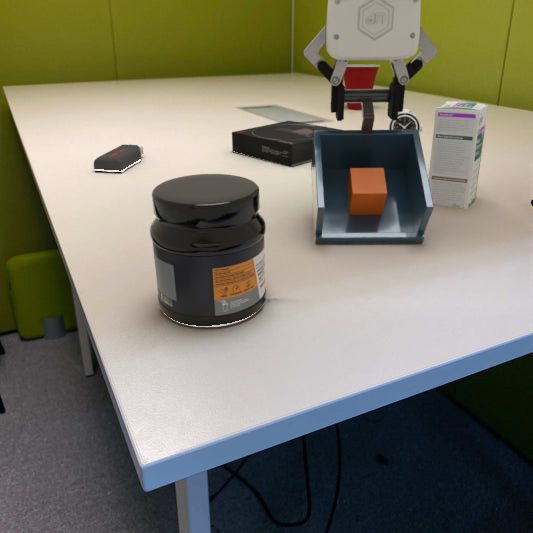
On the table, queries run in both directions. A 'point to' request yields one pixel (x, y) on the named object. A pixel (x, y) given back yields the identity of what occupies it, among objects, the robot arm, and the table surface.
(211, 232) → the supplement container
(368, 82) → the plastic cup
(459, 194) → the syrup box
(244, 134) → the black flat cardboard box
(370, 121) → the blue open box
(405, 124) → the watch
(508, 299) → the table surface
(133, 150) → the usb drive
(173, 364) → the table surface
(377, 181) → the block
